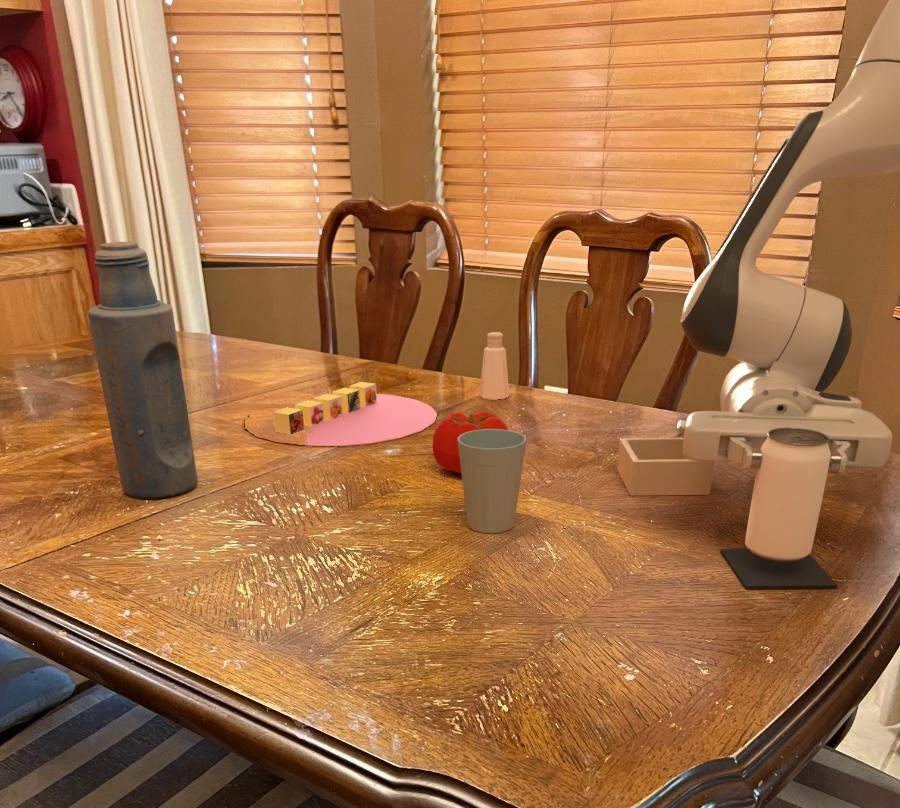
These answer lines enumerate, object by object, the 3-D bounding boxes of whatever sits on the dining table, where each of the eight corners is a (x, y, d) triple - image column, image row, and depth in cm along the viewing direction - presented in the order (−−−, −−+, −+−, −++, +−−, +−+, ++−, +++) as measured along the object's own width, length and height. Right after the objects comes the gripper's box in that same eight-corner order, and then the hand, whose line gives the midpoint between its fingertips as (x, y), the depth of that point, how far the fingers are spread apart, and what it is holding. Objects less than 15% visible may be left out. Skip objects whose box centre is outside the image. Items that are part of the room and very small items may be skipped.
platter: (200, 428, 138) (197, 407, 137) (326, 386, 162) (325, 368, 161) (360, 459, 123) (358, 436, 121) (472, 407, 147) (473, 388, 146)
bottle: (162, 471, 119) (122, 237, 106) (214, 482, 115) (179, 240, 101) (106, 492, 112) (55, 244, 98) (159, 505, 108) (113, 248, 94)
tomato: (496, 454, 124) (497, 402, 121) (519, 478, 115) (521, 423, 111) (424, 460, 122) (423, 408, 119) (442, 486, 113) (441, 430, 109)
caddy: (690, 469, 117) (694, 437, 115) (709, 495, 108) (714, 460, 106) (617, 470, 117) (619, 438, 115) (630, 495, 109) (633, 461, 106)
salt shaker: (477, 400, 152) (478, 336, 147) (480, 392, 157) (480, 330, 152) (508, 400, 151) (509, 336, 146) (510, 393, 156) (511, 330, 151)
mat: (803, 551, 93) (804, 547, 93) (836, 588, 85) (837, 585, 85) (720, 552, 93) (720, 548, 93) (745, 589, 85) (746, 586, 85)
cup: (452, 514, 104) (452, 430, 99) (514, 510, 105) (517, 426, 100) (464, 539, 97) (464, 450, 92) (530, 534, 98) (533, 446, 93)
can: (732, 540, 90) (750, 428, 85) (787, 534, 91) (808, 423, 86) (765, 566, 85) (787, 448, 79) (824, 559, 86) (849, 442, 80)
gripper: (678, 392, 95) (689, 427, 83) (874, 398, 92) (915, 435, 80) (672, 447, 98) (681, 489, 86) (862, 454, 95) (899, 499, 83)
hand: (796, 463), depth 83 cm, fingers closed on can, 6 cm apart
